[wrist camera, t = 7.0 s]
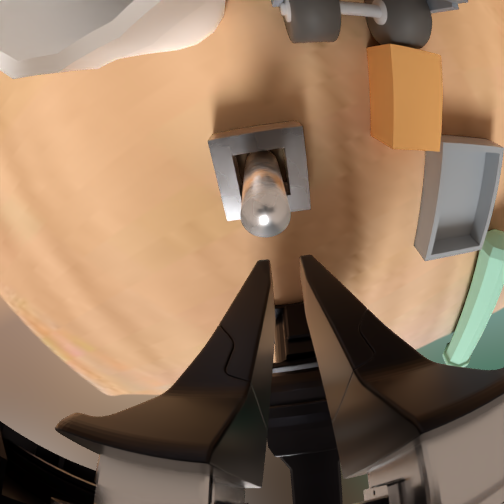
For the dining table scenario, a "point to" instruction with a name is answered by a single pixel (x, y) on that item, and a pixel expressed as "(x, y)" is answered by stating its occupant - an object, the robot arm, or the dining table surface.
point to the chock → (405, 97)
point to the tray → (457, 196)
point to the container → (478, 300)
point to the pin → (264, 196)
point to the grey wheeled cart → (377, 15)
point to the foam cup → (97, 31)
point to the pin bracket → (255, 140)
